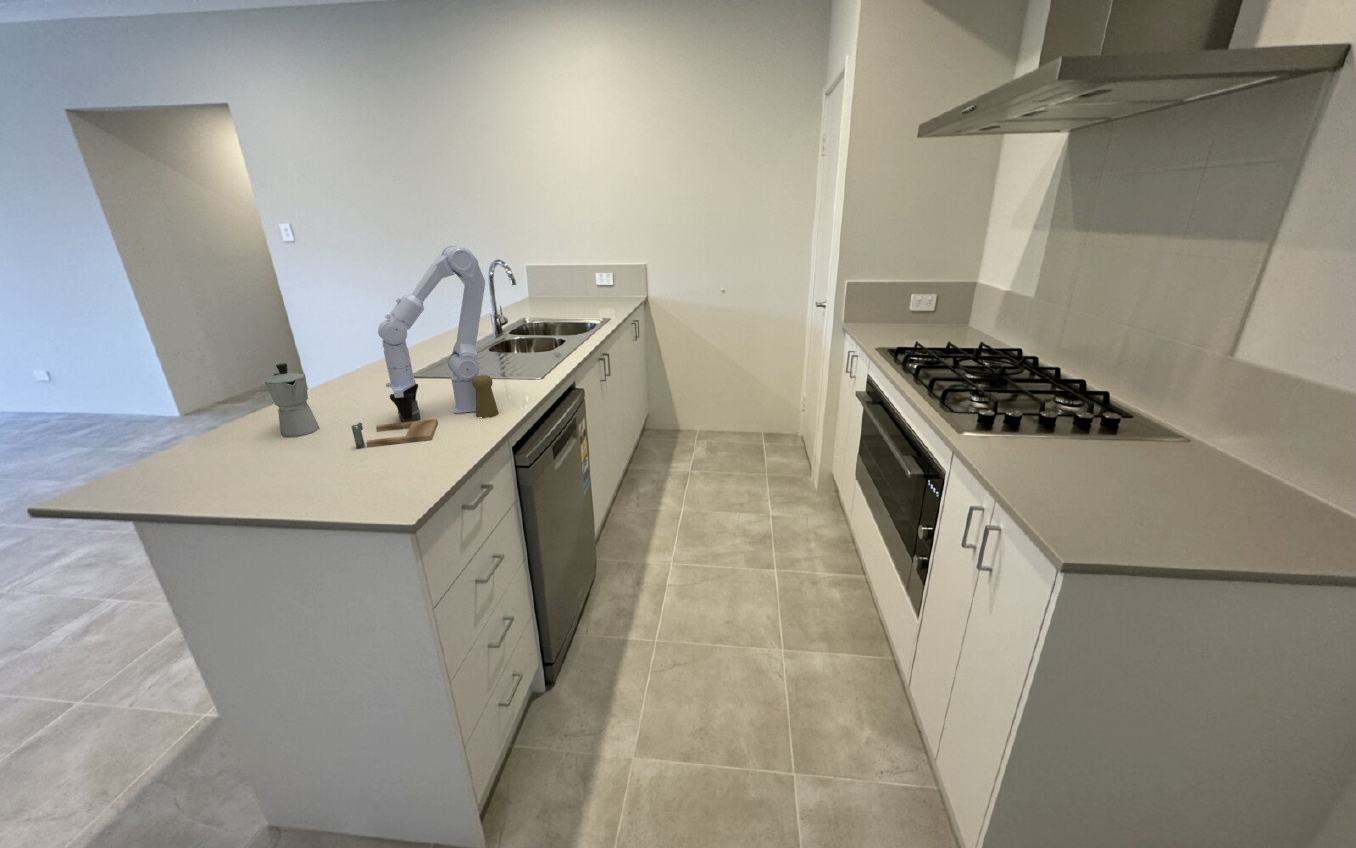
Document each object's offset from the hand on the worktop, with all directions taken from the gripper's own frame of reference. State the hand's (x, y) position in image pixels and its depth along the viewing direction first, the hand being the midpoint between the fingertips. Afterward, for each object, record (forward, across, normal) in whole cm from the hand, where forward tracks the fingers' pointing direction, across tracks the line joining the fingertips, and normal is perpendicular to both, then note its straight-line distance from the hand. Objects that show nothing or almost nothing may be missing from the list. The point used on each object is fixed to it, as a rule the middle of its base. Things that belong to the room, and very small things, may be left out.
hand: (409, 415), depth 149 cm
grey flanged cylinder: (+1, 0, 0) cm, 1 cm away
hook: (+1, +15, -9) cm, 17 cm away
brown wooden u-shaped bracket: (+1, +11, +1) cm, 11 cm away
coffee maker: (+2, -1, -27) cm, 27 cm away
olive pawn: (+2, +2, +20) cm, 20 cm away
